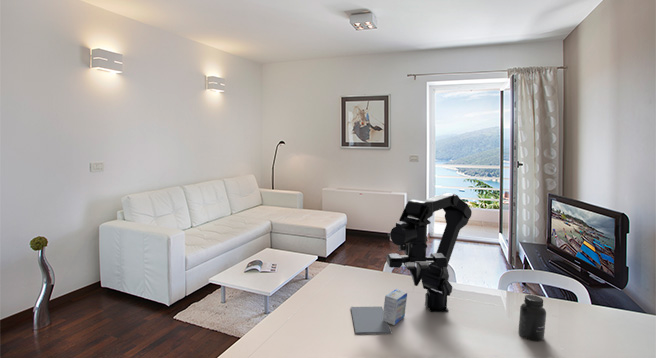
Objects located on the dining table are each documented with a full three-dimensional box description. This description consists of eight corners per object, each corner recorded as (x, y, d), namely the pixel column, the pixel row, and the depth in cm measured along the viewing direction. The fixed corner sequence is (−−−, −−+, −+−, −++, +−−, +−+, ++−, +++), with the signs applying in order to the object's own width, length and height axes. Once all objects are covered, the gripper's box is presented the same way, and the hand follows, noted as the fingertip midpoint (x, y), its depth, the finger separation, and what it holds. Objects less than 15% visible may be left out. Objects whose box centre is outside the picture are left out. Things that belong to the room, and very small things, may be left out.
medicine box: (394, 326, 110) (397, 300, 109) (381, 320, 112) (384, 295, 111) (404, 317, 116) (407, 292, 115) (392, 312, 119) (395, 288, 118)
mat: (381, 308, 122) (381, 306, 122) (391, 333, 106) (391, 331, 106) (350, 308, 122) (350, 306, 122) (355, 334, 106) (355, 332, 106)
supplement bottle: (544, 344, 101) (547, 305, 99) (517, 337, 104) (520, 299, 103) (544, 333, 106) (547, 296, 105) (518, 327, 110) (521, 291, 109)
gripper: (437, 232, 119) (435, 275, 121) (383, 232, 119) (382, 275, 121) (449, 241, 108) (447, 289, 110) (390, 242, 108) (389, 289, 110)
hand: (415, 285), depth 113 cm, fingers closed
